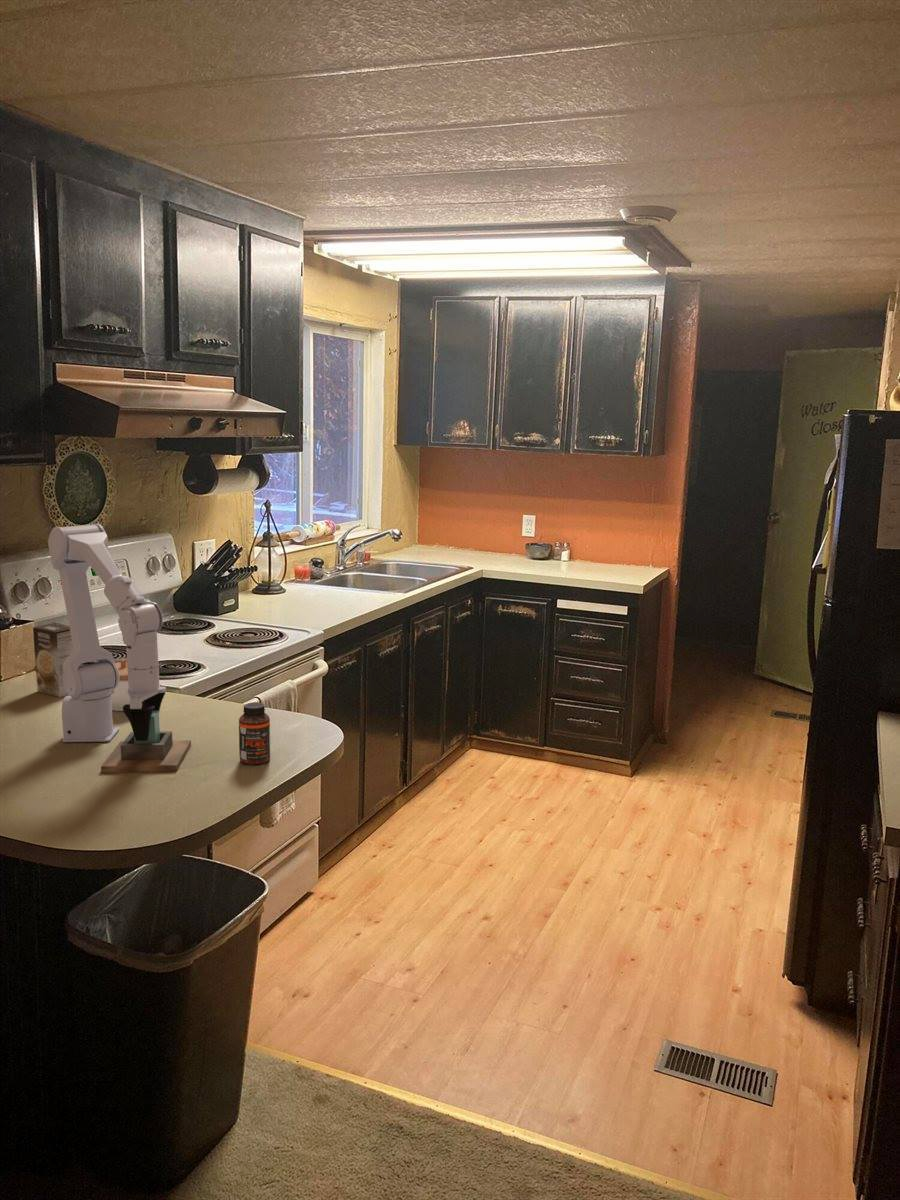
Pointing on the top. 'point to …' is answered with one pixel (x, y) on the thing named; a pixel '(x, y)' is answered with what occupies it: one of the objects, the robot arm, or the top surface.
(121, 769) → the end holder
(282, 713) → the top surface
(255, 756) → the supplement bottle
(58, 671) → the coffee box
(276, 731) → the top surface
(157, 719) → the block
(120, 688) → the lidded bowl
